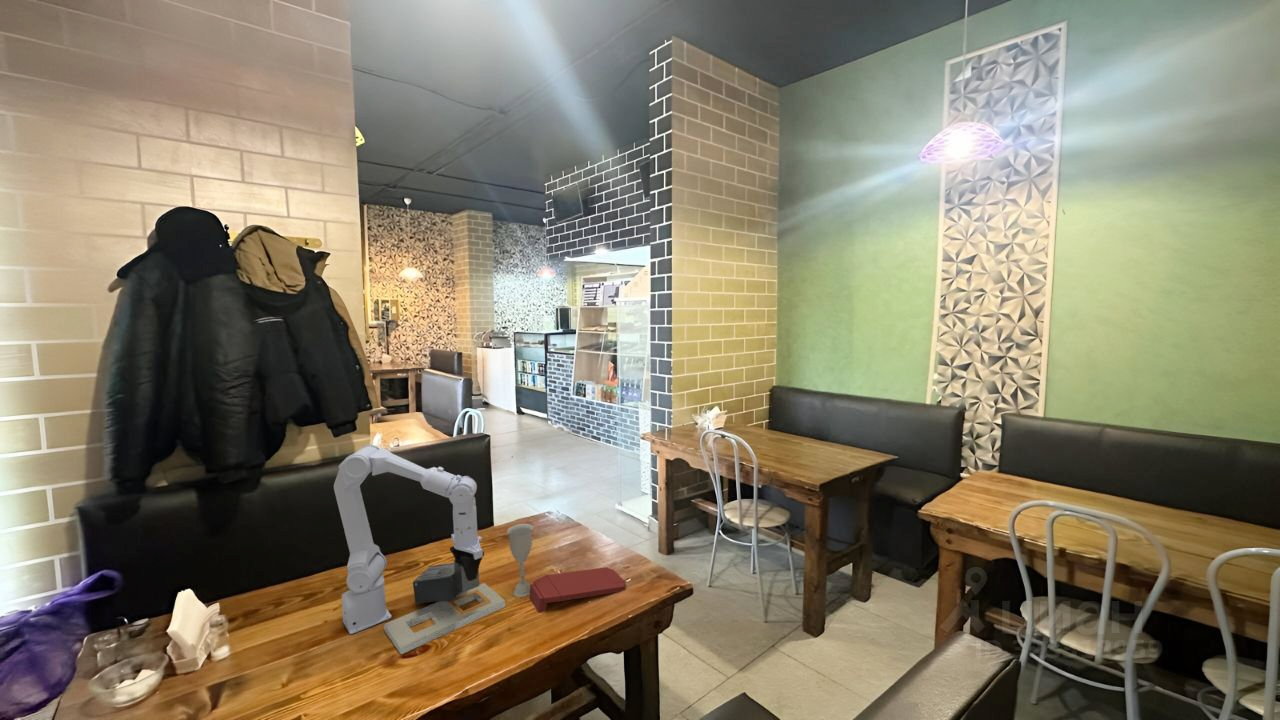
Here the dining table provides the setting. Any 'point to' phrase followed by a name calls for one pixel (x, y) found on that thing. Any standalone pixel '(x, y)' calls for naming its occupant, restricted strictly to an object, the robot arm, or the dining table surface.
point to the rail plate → (442, 618)
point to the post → (463, 577)
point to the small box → (435, 584)
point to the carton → (574, 586)
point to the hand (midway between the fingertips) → (468, 575)
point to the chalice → (521, 553)
